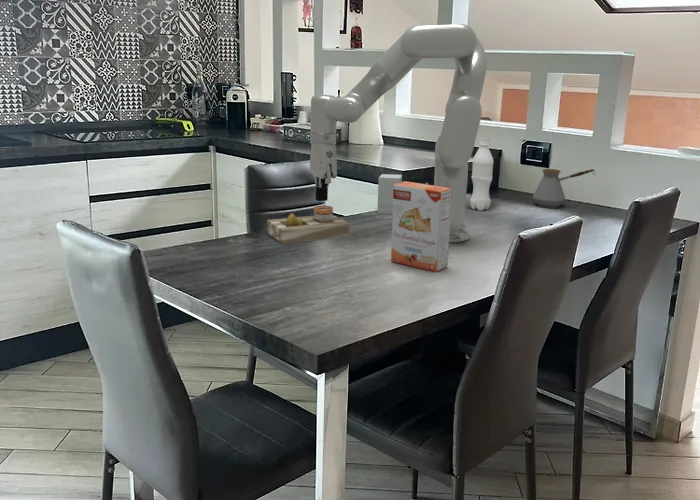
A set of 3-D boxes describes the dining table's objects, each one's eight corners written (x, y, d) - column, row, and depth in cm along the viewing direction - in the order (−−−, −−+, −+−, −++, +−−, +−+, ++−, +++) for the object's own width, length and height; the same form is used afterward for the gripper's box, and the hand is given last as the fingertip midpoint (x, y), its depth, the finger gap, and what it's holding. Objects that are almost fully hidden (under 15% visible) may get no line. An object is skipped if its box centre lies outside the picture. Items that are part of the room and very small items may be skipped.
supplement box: (398, 215, 229) (399, 178, 226) (376, 213, 231) (377, 177, 227) (401, 210, 236) (402, 174, 233) (380, 209, 238) (381, 173, 234)
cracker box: (389, 262, 178) (392, 183, 172) (402, 257, 182) (405, 180, 177) (436, 273, 170) (440, 190, 164) (448, 267, 174) (452, 187, 168)
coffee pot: (526, 205, 247) (530, 164, 242) (539, 200, 255) (543, 160, 251) (584, 214, 234) (589, 171, 229) (596, 209, 242) (601, 167, 238)
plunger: (335, 223, 203) (335, 208, 202) (318, 225, 201) (318, 210, 200) (328, 219, 208) (328, 204, 207) (311, 220, 206) (311, 206, 205)
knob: (287, 232, 198) (286, 215, 197) (285, 227, 203) (285, 211, 202) (303, 231, 199) (303, 215, 198) (301, 227, 204) (301, 211, 202)
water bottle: (489, 207, 243) (494, 136, 236) (491, 211, 236) (496, 139, 229) (468, 206, 244) (473, 136, 237) (470, 210, 237) (474, 138, 230)
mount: (349, 236, 202) (349, 223, 201) (282, 243, 193) (282, 230, 192) (331, 226, 213) (331, 213, 212) (267, 233, 205) (267, 220, 204)
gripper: (345, 141, 193) (343, 204, 198) (324, 135, 206) (323, 194, 211) (321, 142, 190) (319, 206, 195) (301, 135, 202) (300, 196, 208)
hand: (321, 200), depth 203 cm, fingers closed
